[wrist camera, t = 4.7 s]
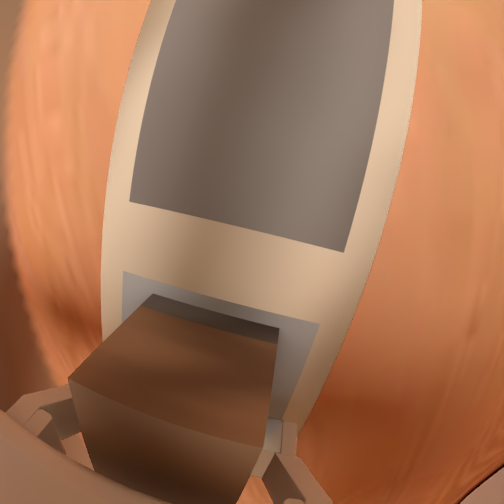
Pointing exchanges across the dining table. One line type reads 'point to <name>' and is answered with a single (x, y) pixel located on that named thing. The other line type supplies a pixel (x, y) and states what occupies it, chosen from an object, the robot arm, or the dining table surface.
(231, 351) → the block
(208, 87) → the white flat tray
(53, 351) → the dining table surface
